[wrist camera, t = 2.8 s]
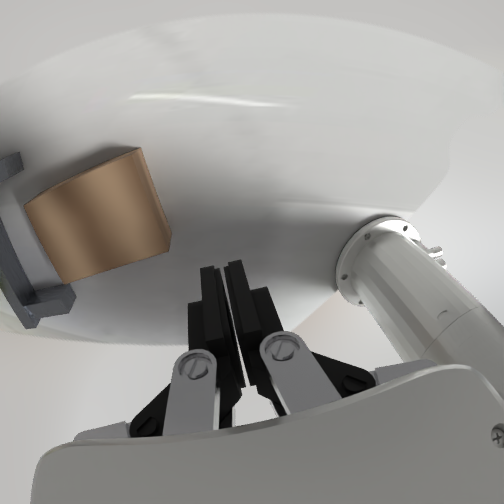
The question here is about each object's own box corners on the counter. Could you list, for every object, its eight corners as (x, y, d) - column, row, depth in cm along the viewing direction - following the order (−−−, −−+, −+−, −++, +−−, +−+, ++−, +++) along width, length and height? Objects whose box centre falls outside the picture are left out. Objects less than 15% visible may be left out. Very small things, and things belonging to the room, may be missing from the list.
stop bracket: (17, 142, 20) (-2, 149, 17) (80, 303, 30) (71, 322, 27) (-27, 169, 19) (-45, 178, 16) (35, 311, 29) (25, 329, 26)
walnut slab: (141, 147, 24) (131, 154, 20) (172, 231, 28) (168, 251, 25) (41, 191, 23) (23, 205, 20) (76, 263, 28) (64, 284, 24)
